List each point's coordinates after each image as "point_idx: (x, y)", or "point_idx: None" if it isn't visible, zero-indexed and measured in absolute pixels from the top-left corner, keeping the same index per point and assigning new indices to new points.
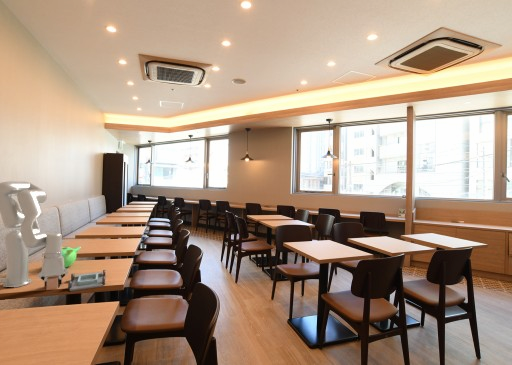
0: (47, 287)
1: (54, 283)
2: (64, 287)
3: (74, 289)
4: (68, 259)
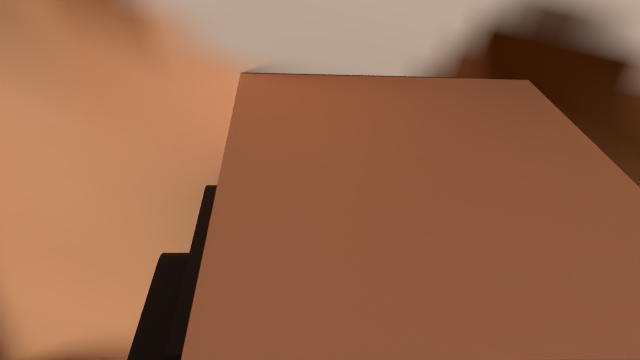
0: (537, 114)
1: (340, 173)
2: (51, 95)
3: None
4: None
